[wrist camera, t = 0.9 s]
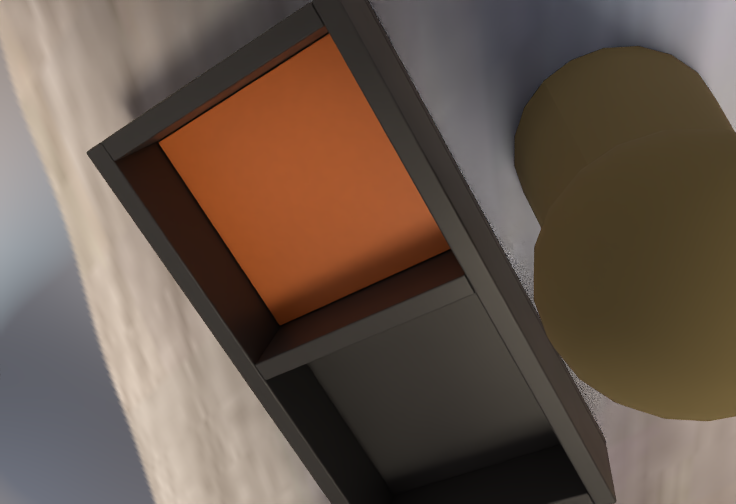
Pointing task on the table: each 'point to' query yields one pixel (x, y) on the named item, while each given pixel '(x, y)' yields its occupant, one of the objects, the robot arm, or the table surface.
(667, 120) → the olive knobbed cylinder
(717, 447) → the table surface
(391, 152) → the divided tray
